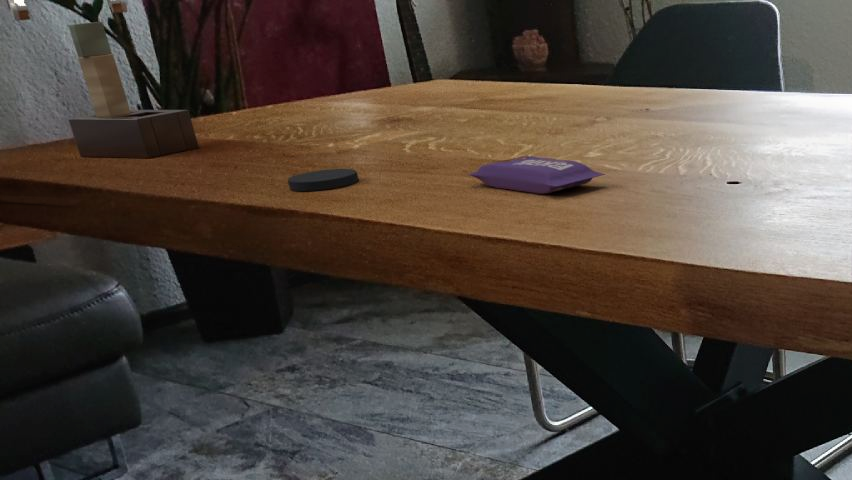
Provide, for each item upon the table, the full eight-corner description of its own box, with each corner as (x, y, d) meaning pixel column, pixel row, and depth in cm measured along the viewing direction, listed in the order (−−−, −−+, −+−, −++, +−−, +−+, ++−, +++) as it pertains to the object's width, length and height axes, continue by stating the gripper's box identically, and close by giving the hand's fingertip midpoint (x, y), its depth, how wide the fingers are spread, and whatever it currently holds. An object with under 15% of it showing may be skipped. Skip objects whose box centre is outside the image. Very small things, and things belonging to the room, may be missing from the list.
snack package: (604, 161, 85) (554, 173, 82) (608, 186, 86) (558, 199, 83) (513, 151, 92) (463, 162, 89) (517, 174, 93) (468, 186, 90)
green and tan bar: (119, 154, 118) (78, 24, 113) (104, 154, 119) (63, 25, 114) (145, 149, 121) (107, 21, 115) (131, 149, 122) (91, 22, 116)
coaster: (287, 194, 91) (285, 184, 91) (292, 182, 96) (290, 173, 96) (358, 186, 93) (356, 176, 92) (359, 175, 98) (357, 166, 97)
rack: (148, 158, 114) (137, 119, 113) (80, 156, 119) (67, 118, 117) (199, 147, 119) (188, 109, 118) (131, 146, 124) (120, 109, 122)
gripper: (-88, -102, 115) (-49, -3, 112) (128, -108, 126) (169, -17, 123) (-73, -55, 121) (-35, 42, 118) (134, -64, 131) (174, 25, 128)
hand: (71, 12), depth 120 cm, fingers open, 8 cm apart
